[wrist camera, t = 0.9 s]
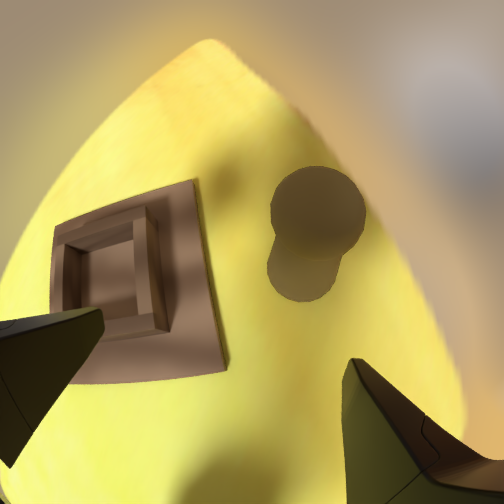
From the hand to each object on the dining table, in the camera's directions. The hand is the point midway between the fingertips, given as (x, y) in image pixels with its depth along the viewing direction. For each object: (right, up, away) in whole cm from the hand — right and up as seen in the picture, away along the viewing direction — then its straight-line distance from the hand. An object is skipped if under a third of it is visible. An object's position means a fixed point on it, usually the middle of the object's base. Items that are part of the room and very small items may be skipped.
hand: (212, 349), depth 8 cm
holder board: (-11, 0, +15) cm, 19 cm away
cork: (+6, +2, +15) cm, 16 cm away
